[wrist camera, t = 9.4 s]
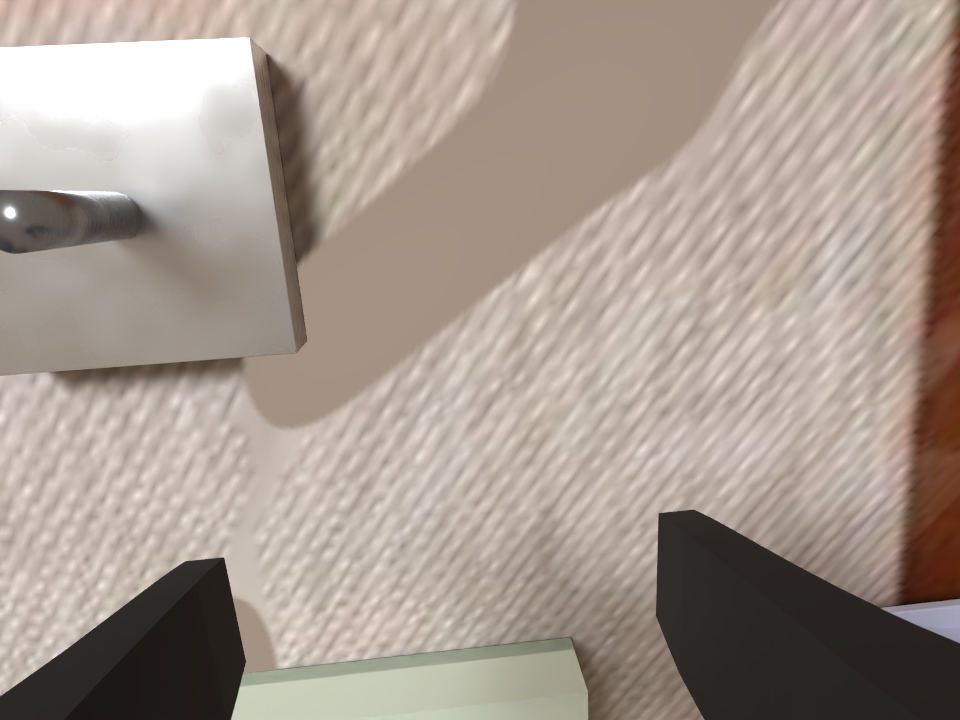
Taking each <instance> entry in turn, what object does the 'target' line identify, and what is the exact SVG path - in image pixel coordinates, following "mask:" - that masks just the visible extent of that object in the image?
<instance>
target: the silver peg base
mask: <svg viewBox="0 0 960 720" xmlns="http://www.w3.org/2000/svg"><path fill="white" fill-rule="evenodd" d="M306 341H307V336H306V329H305V322H304V315H303V308H302V301H301V294H300V287H299V280H298V273H297V266H296V259H295V252H294V245H293V238H292V231H291V224H290V217H289V210H288V203H287V196H286V189H285V182H284V175H283V168H282V161H281V154H280V147H279V140H278V133H277V126H276V119H275V112H274V105H273V99H272V92H271V85H270V78H269V71H268V64H267V57H266V52H265V51H264V50H263V49H262V48H261V47H259V46H258V45H257V44H256V43H255V42H254V41H253V40H252V39H250V38H226V39H202V40H178V41H154V42H130V43H106V44H82V45H58V46H34V47H10V48H0V376H3V375H16V374H29V373H42V372H56V371H69V370H82V369H95V368H108V367H121V366H134V365H147V364H160V363H173V362H186V361H199V360H213V359H226V358H239V357H252V356H265V355H276V354H277V355H278V354H290V353H297V352H298V351H299V350H300V348H301V347H302V346H303V345H304V344H305V343H306Z"/></svg>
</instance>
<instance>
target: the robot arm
mask: <svg viewBox="0 0 960 720" xmlns="http://www.w3.org/2000/svg"><path fill="white" fill-rule="evenodd" d="M656 616H657V619H658V621H659V624H660V627H661V629H662V632H663V634H664V637H665V639H666V642H667V645H668V647H669V650H670V652H671V654H672V657H673V659H674V661H675V664H676V666H677V669H678V671H679V673H680V675H681V677H682V679H683V681H684V683H685V685H686V686H687V688H688V690H689V692H690V694H691V696H692V698H693V699H694V701H695V703H696V705H697V707H698V709H699V710H700V712H701V714H702V716H703V718H704V720H960V599H956V600H947V601H938V602H929V603H920V604H911V605H902V606H893V607H884V608H879V607H877V606H875V605H873V604H871V603H869V602H867V601H865V600H863V599H861V598H858V597H856V596H854V595H852V594H850V593H848V592H846V591H844V590H842V589H840V588H838V587H836V586H834V585H832V584H830V583H829V582H827V581H825V580H823V579H821V578H819V577H817V576H815V575H813V574H811V573H810V572H808V571H806V570H804V569H802V568H800V567H798V566H797V565H795V564H793V563H791V562H789V561H787V560H786V559H784V558H782V557H780V556H778V555H777V554H775V553H773V552H771V551H769V550H768V549H766V548H764V547H762V546H760V545H759V544H757V543H755V542H753V541H752V540H750V539H748V538H746V537H744V536H743V535H741V534H739V533H737V532H736V531H734V530H732V529H730V528H728V527H727V526H725V525H723V524H721V523H719V522H717V521H716V520H714V519H712V518H710V517H708V516H706V515H704V514H702V513H700V512H698V511H695V510H686V511H677V512H667V513H659V521H658V560H657V600H656ZM245 663H246V660H245V655H244V650H243V645H242V641H241V636H240V631H239V626H238V622H237V617H236V612H235V607H234V603H233V598H232V593H231V588H230V583H229V579H228V574H227V569H226V564H225V560H224V558H214V559H204V560H194V561H185V562H184V563H182V564H181V565H179V566H178V567H176V568H174V569H173V570H172V571H170V572H169V573H167V574H166V575H165V576H163V577H162V578H160V579H159V580H158V581H156V582H155V583H154V584H152V585H151V586H150V587H148V588H147V589H146V590H144V591H143V592H142V593H140V594H139V595H138V596H136V597H135V598H134V599H132V600H131V601H130V602H129V603H127V604H126V605H125V606H123V607H122V608H121V609H119V610H118V611H117V612H115V613H114V614H113V615H111V616H110V617H109V618H107V619H106V620H105V621H103V622H102V623H101V624H100V625H98V626H97V627H96V628H94V629H93V630H92V631H90V632H89V633H88V634H86V635H85V636H84V637H82V638H81V639H80V640H78V641H77V642H76V643H74V644H73V645H72V646H70V647H69V648H68V649H66V650H65V651H64V652H62V653H61V654H60V655H58V656H57V657H55V658H54V659H52V660H51V661H50V662H48V663H47V664H45V665H44V666H43V667H41V668H40V669H38V670H37V671H36V672H34V673H33V674H31V675H30V676H29V677H27V678H26V679H24V680H23V681H22V682H20V683H19V684H17V685H16V686H14V687H13V688H12V689H10V690H9V691H7V692H6V693H5V694H3V695H2V696H0V720H231V718H232V714H233V711H234V707H235V703H236V700H237V696H238V692H239V688H240V684H241V680H242V676H243V671H244V667H245Z"/></svg>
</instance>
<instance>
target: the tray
mask: <svg viewBox="0 0 960 720" xmlns="http://www.w3.org/2000/svg"><path fill="white" fill-rule="evenodd" d="M231 720H588V691H587V688H586V684H585V681H584V678H583V675H582V672H581V669H580V666H579V663H578V660H577V656H576V653H575V650H574V647H573V644H572V641H571V638H570V637H569V638H560V639H551V640H542V641H533V642H524V643H514V644H505V645H496V646H487V647H478V648H469V649H460V650H451V651H442V652H433V653H424V654H415V655H406V656H397V657H388V658H379V659H370V660H361V661H352V662H343V663H334V664H325V665H316V666H307V667H298V668H289V669H280V670H271V671H263V672H253V673H244V674H243V676H242V680H241V684H240V688H239V692H238V696H237V700H236V703H235V707H234V711H233V714H232V718H231Z"/></svg>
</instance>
